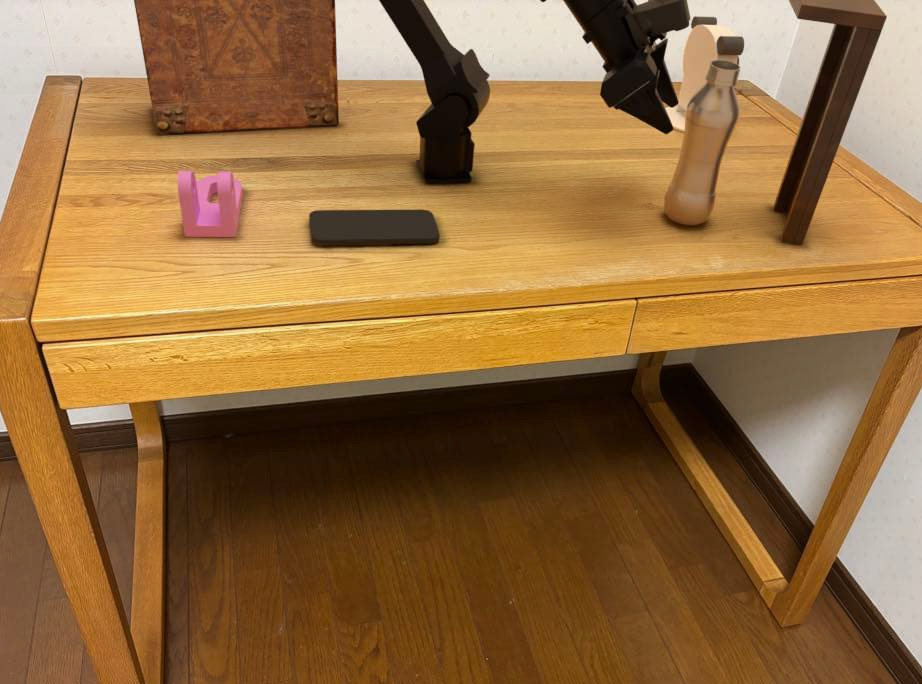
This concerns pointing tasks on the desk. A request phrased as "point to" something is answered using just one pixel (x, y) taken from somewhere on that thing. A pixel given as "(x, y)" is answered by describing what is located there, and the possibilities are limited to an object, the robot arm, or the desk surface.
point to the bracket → (209, 204)
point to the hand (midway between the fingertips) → (672, 118)
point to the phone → (372, 227)
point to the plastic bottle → (704, 145)
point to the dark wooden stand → (827, 104)
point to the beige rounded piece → (702, 61)
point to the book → (240, 64)
